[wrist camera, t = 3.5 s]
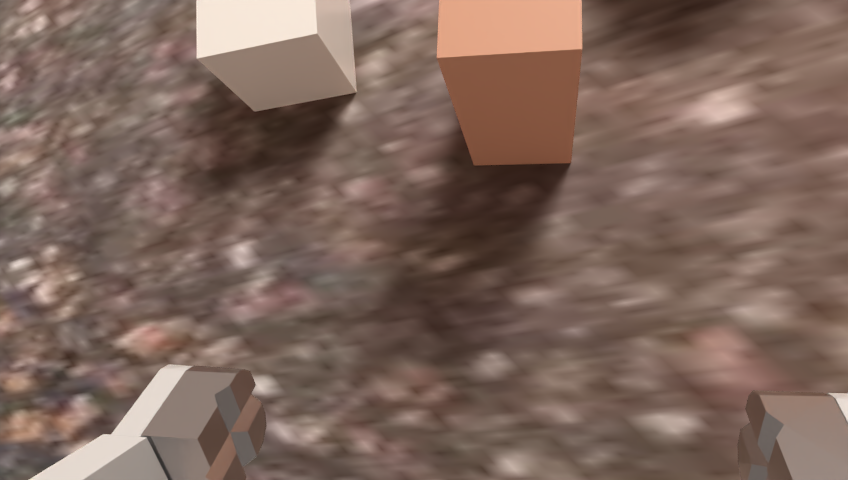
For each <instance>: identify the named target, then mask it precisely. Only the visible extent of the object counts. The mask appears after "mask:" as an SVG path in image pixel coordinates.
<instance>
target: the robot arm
mask: <svg viewBox="0 0 848 480" xmlns="http://www.w3.org/2000/svg"><path fill="white" fill-rule="evenodd" d="M255 385H256V384H255V382H254V379H253V377H252V374H251V372H250V371H248V370H245V369H235V368H220V367H206V366H184V365H170V364H169V365H167V366H165V367H163V368H162V369H160V370H159V372H158V373H157V374H156V376H155V377H154V378H153V380H152V381H151V382H150V384H149V385H148V386H147V388H146V389H145V390H144V392H143V393H142V394H141V396H140V397H139V398H138V400H137V401H136V402H135V404H134V405H133V406H132V407H131V409H130V410H129V411H128V413H127V414H126V415H125V417H124V418H123V419H122V421H121V422H120V423H119V425H118V426H117V427H116V429H115V430H114V431H113V433H112V434H111V435H108V434H103V435H101V436H100V437H98V438H96V439H95V440H93V441H91V442H90V443H88V444H87V445H85V446H83V447H82V448H80V449H78V450H77V451H75V452H73V453H72V454H70V455H69V456H67V457H65V458H64V459H62V460H60V461H59V462H57V463H55V464H54V465H52V466H51V467H49V468H47V469H46V470H44V471H42V472H41V473H39V474H37V475H36V476H34V477H33V478H31V479H29V480H246V475H245V471H244V466H245V465H246V464H247V463H249V462H250V461H251V460H253V459H254V458H255V457H257V455H258V453H259V451H260V448H261V446H262V444H263V441H264V435H265V430H266V415H265V411H264V408H263V405H262V403H261V402H260V401H259V400H258V399H257V398H256V397H254V396H253V395H252V394H251V393H252V391H253V389H254V387H255ZM745 409H746V412H747V415H748V418H749V421H750V423H748V424H747V425H746V426H744V427H743V428H742V429H740V435H739V440H738V466H739V472H740V477H741V480H848V394H845V393H827V394H825V393H813V392H784V391H754V390H753V391H752V392H751V394H750V395H749V396H748V400H747V404H746V408H745Z"/></svg>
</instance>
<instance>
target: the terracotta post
mask: <svg viewBox="0 0 848 480" xmlns="http://www.w3.org/2000/svg"><path fill="white" fill-rule="evenodd" d="M581 56H582V0H439V21H438V44H437V60H438V62H439V65H440V68H441V71H442V74H443V77H444V80H445V83H446V86H447V89H448V91H449V94H450V97H451V100H452V103H453V106H454V109H455V112H456V115H457V118H458V120H459V123H460V126H461V129H462V132H463V135H464V138H465V141H466V144H467V147H468V149H469V152H470V155H471V158H472V161H473V164H474V166H475V165H514V164H553V163H571V157H572V147H573V137H574V127H575V117H576V106H577V96H578V86H579V76H580V66H581Z"/></svg>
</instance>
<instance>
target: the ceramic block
mask: <svg viewBox="0 0 848 480" xmlns="http://www.w3.org/2000/svg"><path fill="white" fill-rule="evenodd" d="M197 59H198V60H199V61H200V62H201V63H202V64H203V65H204V66H206V67H207V68H208V69H209V70H210V71H211V72H212V73H213V74H214V75H215V76H216V77H217V78H219V79H220V80H221V81H222V82H223V83H224V84H225V85H226V86H227V87H228V88H229V89H231V90H232V91H233V92H234V93H235V94H236V95H237V96H238V97H239V98H240V99H241V100H242V101H244V102H245V103H246V104H247V105H248V106H249V107H250V108H251V109H252V110H253V111H254V112H256V111H261V110H266V109H272V108H277V107H282V106H288V105H293V104H298V103H304V102H309V101H314V100H320V99H325V98H330V97H336V96H341V95H346V94H352V93H357V90H356V77H355V64H354V51H353V37H352V24H351V11H350V0H197Z"/></svg>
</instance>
